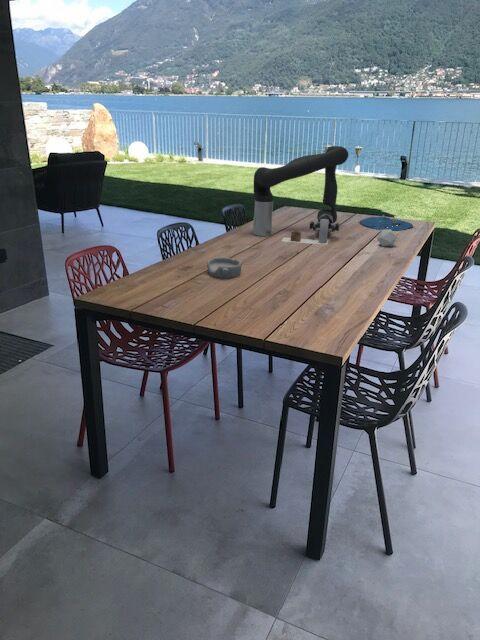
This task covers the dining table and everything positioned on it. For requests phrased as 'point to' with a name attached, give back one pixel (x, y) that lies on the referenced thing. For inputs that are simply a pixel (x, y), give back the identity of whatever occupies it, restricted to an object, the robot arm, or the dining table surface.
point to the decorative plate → (385, 223)
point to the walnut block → (296, 235)
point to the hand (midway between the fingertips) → (323, 229)
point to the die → (386, 238)
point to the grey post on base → (322, 235)
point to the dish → (224, 267)
